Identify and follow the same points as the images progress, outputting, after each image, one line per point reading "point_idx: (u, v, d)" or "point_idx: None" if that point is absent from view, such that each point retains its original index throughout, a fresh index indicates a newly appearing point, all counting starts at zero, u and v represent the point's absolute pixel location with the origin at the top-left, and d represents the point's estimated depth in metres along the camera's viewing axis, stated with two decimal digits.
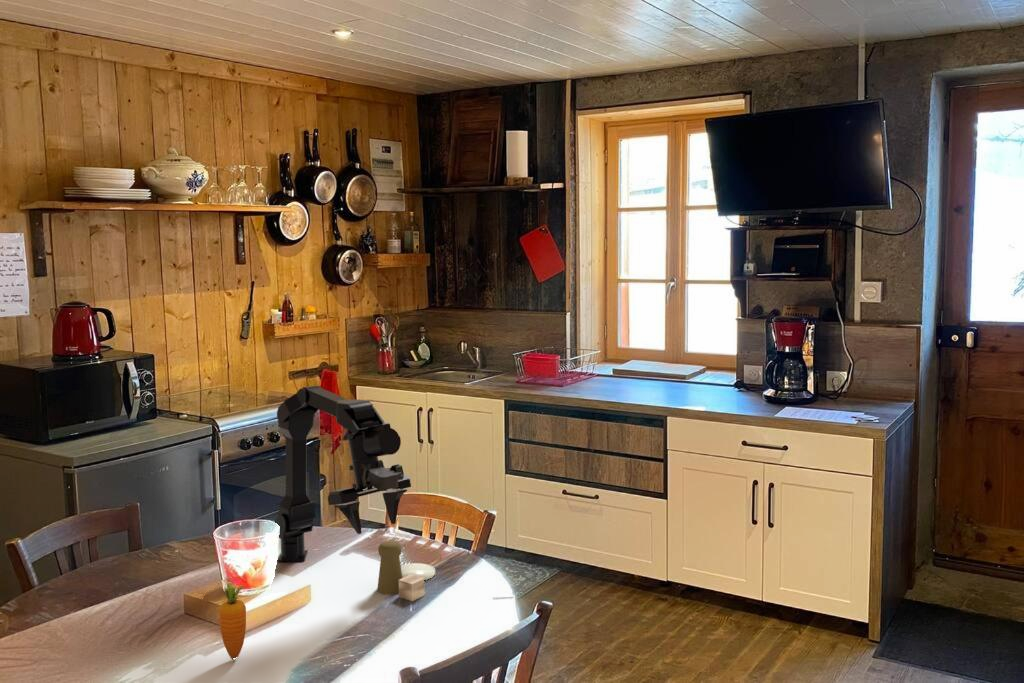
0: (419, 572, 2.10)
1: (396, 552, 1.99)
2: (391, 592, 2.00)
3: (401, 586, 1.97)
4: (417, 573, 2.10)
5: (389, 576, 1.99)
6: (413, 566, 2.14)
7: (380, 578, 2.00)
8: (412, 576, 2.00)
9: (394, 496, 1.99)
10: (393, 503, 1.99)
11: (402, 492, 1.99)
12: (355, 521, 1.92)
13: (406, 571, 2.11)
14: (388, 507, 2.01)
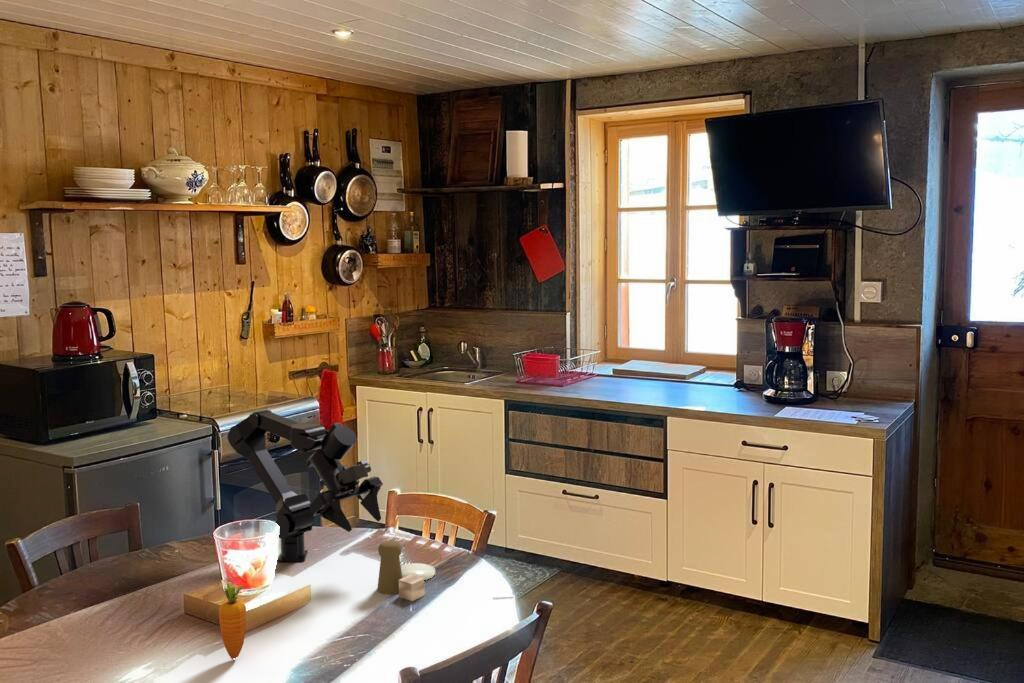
0: (419, 572, 2.10)
1: (396, 552, 1.99)
2: (391, 592, 2.00)
3: (401, 586, 1.97)
4: (417, 573, 2.10)
5: (389, 576, 2.00)
6: (413, 566, 2.14)
7: (380, 578, 2.00)
8: (412, 576, 2.00)
9: (370, 495, 2.11)
10: (372, 502, 2.10)
11: (376, 489, 2.11)
12: (342, 519, 2.02)
13: (406, 571, 2.11)
14: (369, 509, 2.11)
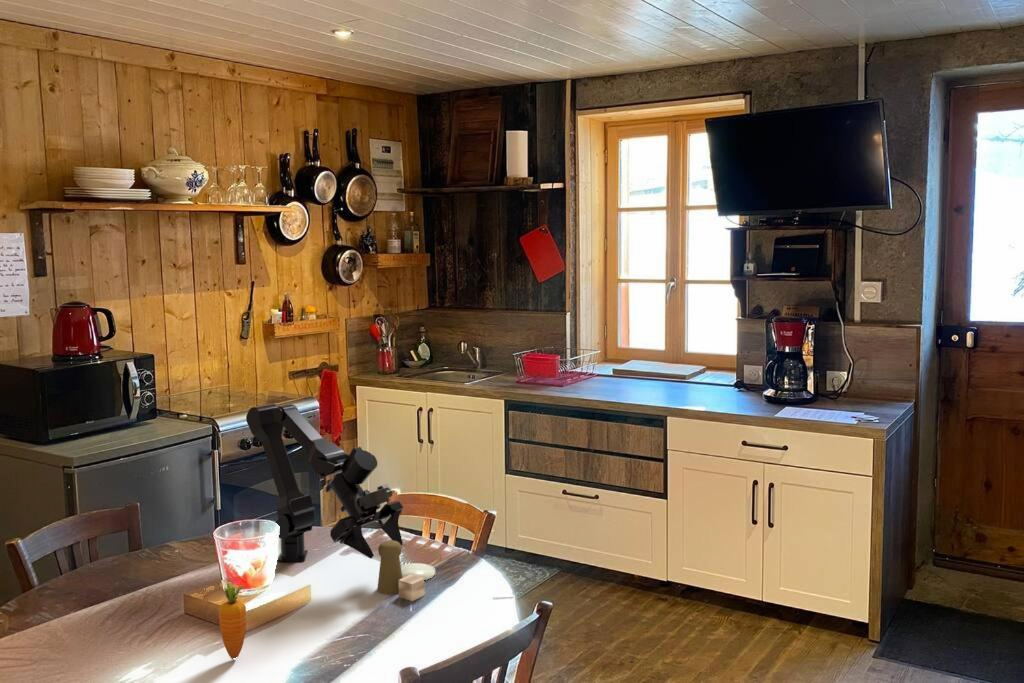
0: (419, 572, 2.10)
1: (396, 552, 1.99)
2: (391, 592, 2.00)
3: (401, 586, 1.97)
4: (417, 573, 2.10)
5: (389, 576, 2.00)
6: (413, 566, 2.14)
7: (380, 578, 2.00)
8: (412, 576, 2.00)
9: (392, 520, 2.07)
10: (393, 527, 2.07)
11: (397, 513, 2.08)
12: (364, 545, 1.98)
13: (406, 571, 2.11)
14: (390, 534, 2.08)
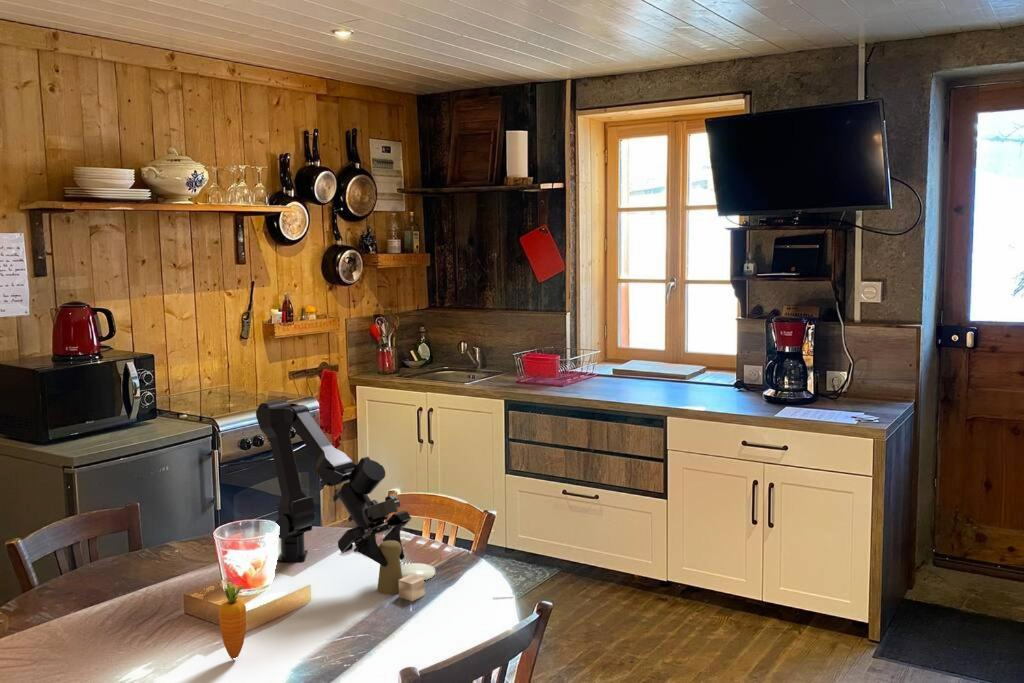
0: (419, 572, 2.10)
1: (396, 552, 1.99)
2: (391, 592, 2.00)
3: (401, 586, 1.97)
4: (417, 573, 2.10)
5: (389, 576, 1.99)
6: (413, 566, 2.14)
7: (380, 578, 2.00)
8: (412, 576, 2.00)
9: (393, 532, 2.05)
10: (395, 539, 2.04)
11: (399, 526, 2.05)
12: (378, 554, 1.98)
13: (406, 571, 2.11)
14: None
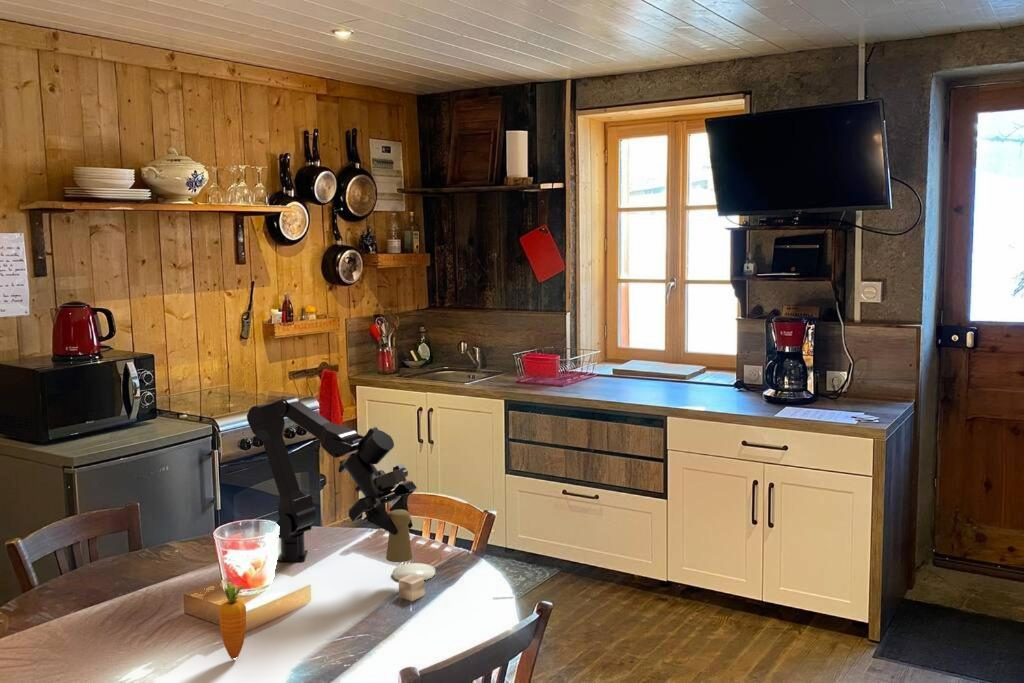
0: (419, 572, 2.10)
1: (406, 521, 2.02)
2: (401, 560, 2.02)
3: (401, 586, 1.97)
4: (417, 573, 2.10)
5: (399, 544, 2.02)
6: (413, 566, 2.14)
7: (390, 546, 2.03)
8: (412, 576, 2.00)
9: (401, 502, 2.07)
10: (403, 508, 2.07)
11: (406, 495, 2.08)
12: (388, 522, 2.01)
13: (406, 571, 2.11)
14: None
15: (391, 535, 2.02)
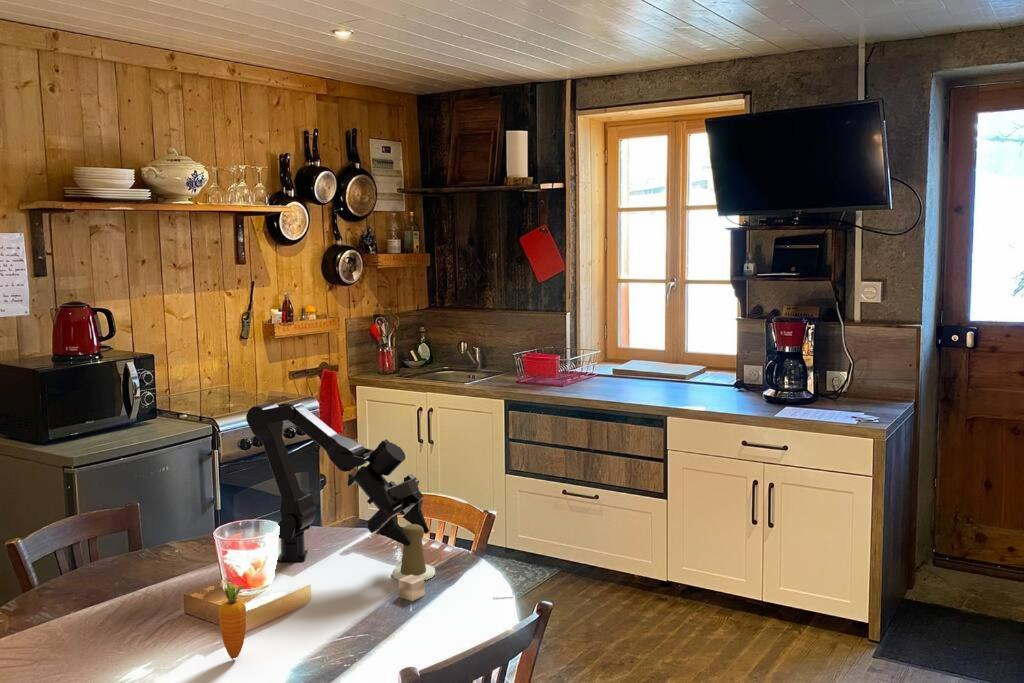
0: None
1: (421, 535, 2.09)
2: (417, 573, 2.08)
3: (401, 586, 1.97)
4: None
5: (415, 558, 2.08)
6: None
7: (405, 561, 2.09)
8: (412, 576, 2.00)
9: (416, 508, 2.15)
10: (418, 515, 2.15)
11: (420, 502, 2.16)
12: (401, 534, 2.05)
13: None
14: (415, 522, 2.15)
15: (406, 550, 2.09)
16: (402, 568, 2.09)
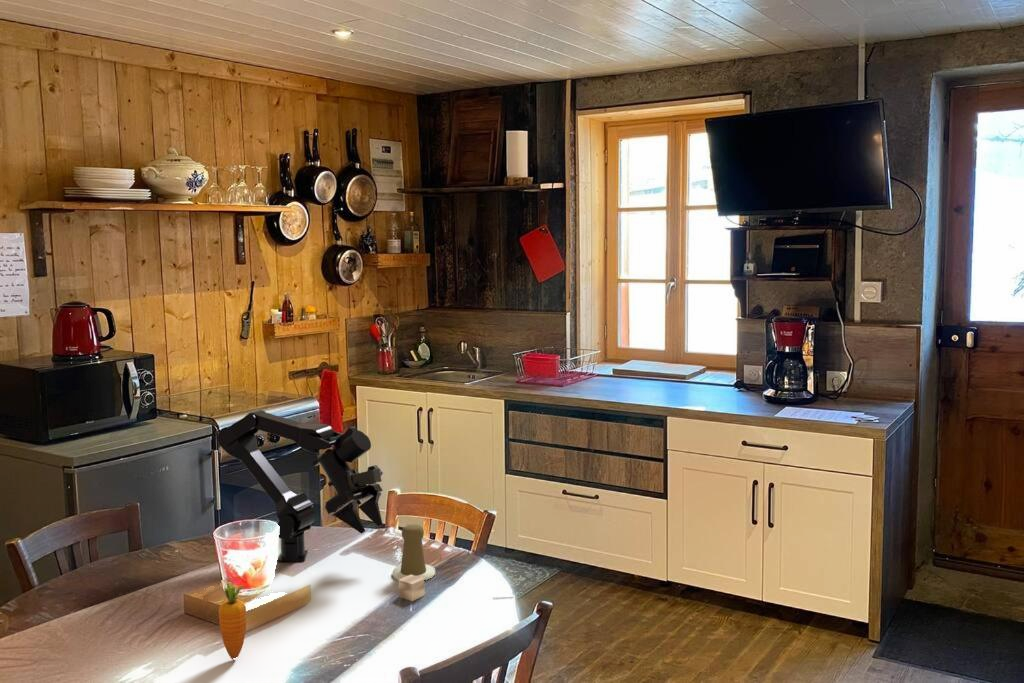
0: None
1: (421, 535, 2.09)
2: (417, 573, 2.08)
3: (401, 586, 1.97)
4: None
5: (415, 558, 2.08)
6: None
7: (405, 561, 2.09)
8: (412, 576, 2.00)
9: (373, 500, 2.16)
10: (374, 507, 2.16)
11: (379, 495, 2.18)
12: (357, 520, 2.06)
13: None
14: (369, 513, 2.16)
15: (406, 550, 2.09)
16: (402, 568, 2.09)
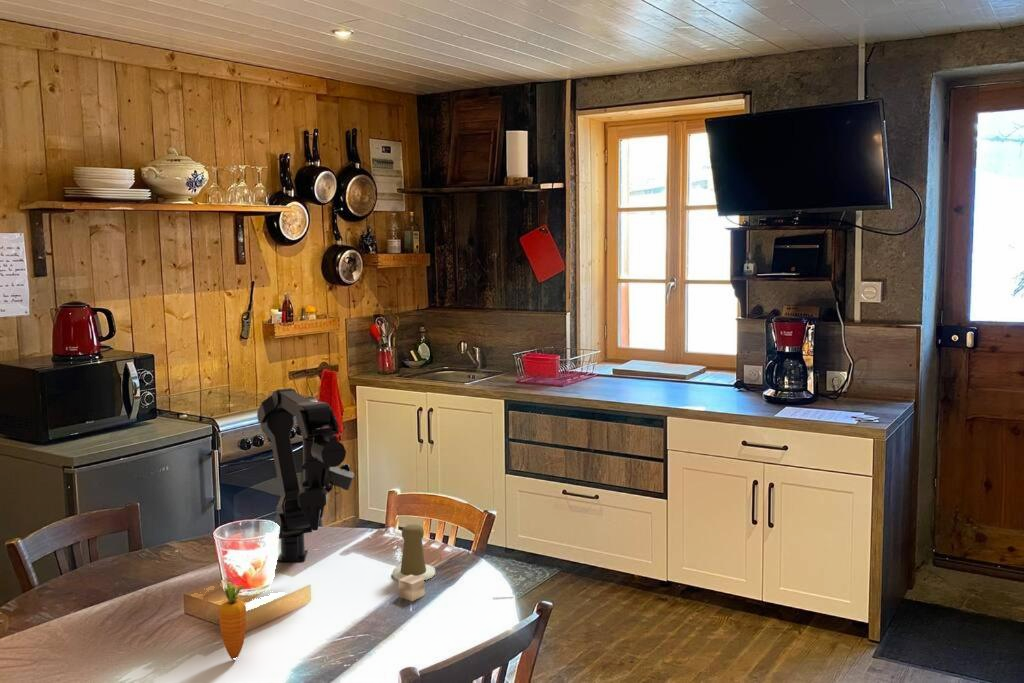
0: None
1: (421, 535, 2.09)
2: (417, 573, 2.08)
3: (401, 586, 1.97)
4: None
5: (415, 558, 2.08)
6: None
7: (405, 561, 2.09)
8: (412, 576, 2.00)
9: None
10: None
11: (331, 488, 2.13)
12: (317, 519, 2.02)
13: None
14: None
15: (406, 550, 2.09)
16: (402, 568, 2.09)
